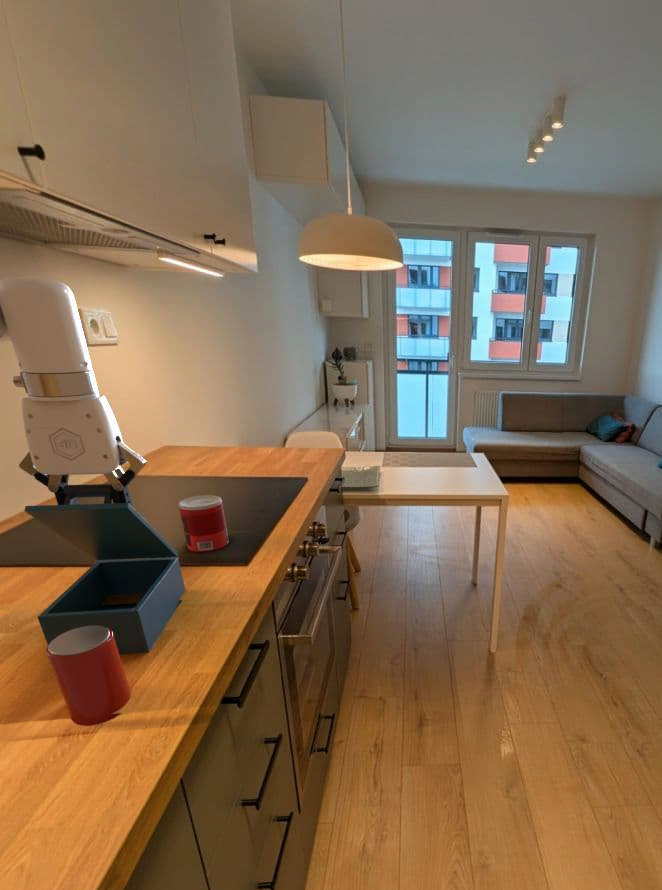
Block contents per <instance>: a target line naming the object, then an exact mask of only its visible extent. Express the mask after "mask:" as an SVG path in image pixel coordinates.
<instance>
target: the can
mask: <svg viewBox="0 0 662 890" xmlns="http://www.w3.org/2000/svg"><path fill="white" fill-rule="evenodd" d="M45 653H46V655H47V656H46V657H47V658H48V661H49V664H50V667H51V669H52V671H53V674H54V678H55V680H56V682H57V685H58V688H59V690H60V693H61V696H62V698H63V702H64V703H65V706H66V709H67V712H68V714H69V716H70V719H71V721H72V722H73V723H74V724H76V725H79V726H94V725H99V724H103V723H105V722H108V721H111V720H112V719H115V718H117V717H118V716H120V715H121V714H122V712H119V710H120V709H122V708H123V707H125V706H126V705H127V703H128V702H129V701H130V699H131V697H132V691H131V688H130V684H129V680H128V678H127V674H126V671H125V668H124V664H123V661H122V658H121V655H120V654H119V651H118V648H117V645H116V641H115V638H114V635H113V632H112V630H111V629H109V628H107V627H103V626H85V627H80V628H76V629H73V630H70V631H68V632H65V633H63V634H61V635H59V636H58V637H56V638H55V639H54V640H53V641H52V642H51V643H50V644H49V645H48V644H47V646H46V649H45ZM116 712H117V713H116ZM118 712H119V713H118Z"/></svg>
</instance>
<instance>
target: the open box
mask: <svg viewBox="0 0 662 890" xmlns="http://www.w3.org/2000/svg"><path fill="white" fill-rule="evenodd" d="M185 592H186V586H185V581H184V577H183V573H182V568H181V565H180V559H179V557H178V556H177V557H162V558H139V559H117V560H96V561H95V563H93V564H92V565H91V566H90V567H89V568H88V569H87V570H86V571H85V572H84V573H82V575H81V576H80V577H78V579H76V581H74V582H73V583H72V584H71V585H70V586H69V587H68V588H66V590H64V591H63V592H62V593H61V594H60V595H59V596H58V597H57V598H55V600H54V601H53V602H52V603H50V604H49V605H48V606H47V607H46V608H45V609H44V610H43V611H42V612H41V613H39V615H37V620H38V623H39V625H40V627H41V631H42V633H43V636H44V639H45V641H46V643H47V646H48V645H49V644H50V643H51V642H52V641H53V640H54V639H55V638H56V637H58V636H59V635H61V634H63V633H65V632H68V631H70V630H73V629H76V628H80V627H85V626H103V627H107V628H109V629H111V630H112V632H113V635H114V638H115V641H116V645H117V648H118V651H119V654H120V656H121V655H134V654H135V655H137V654H148V653H150V652H151V650H152V649H153V647H154V646H155V645H156V643H157V641H158V639H159V638H160V636H161V635H162V633H163V631H164V630H165V629H166V627H167V625H168V623H169V622H170V620H171V618H172V617H173V616H174V614H175V613H176V610H177V609H178V607H179V606H180V604H181V603H182V599H181V598H182V596H183V595H184V594H185ZM138 595H143V596H142V598H141V599H140V600H139V602H127V603H111V604H109V603H108V604H105V603H106V602H107V601H108V599H110V598H111V597H118V596H120V597H122V596H138Z"/></svg>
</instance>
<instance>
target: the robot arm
mask: <svg viewBox="0 0 662 890" xmlns="http://www.w3.org/2000/svg"><path fill="white" fill-rule="evenodd" d="M2 342H4V343H5V342H11V343H12V347H13V350H14V353H15V356H16V359H17V363H18V366H19V369H20V372H19V374H20V375H14V376H13V377H12V382H13V385H14V386H15V387H17V388H23V389H24V390H25V393H26V394H28V396H25V397H22V398H21V411H22V421H23V428H24V433H25V438H26V441H27V442H26V444H27V448H28V452H27V453H26V455H25V456H24V457H23V459H21V461H20V462H19V464H18V467H19V468H20V469H21V470H22V471H24V472H25V473H27V474H28V475H30V476H31V477H34V479H35V480H36V481H38V482H39V483H41V484H42V485H44V486H45V487H46V488H47V489H48V491H49V492H50V493H53V495H54V497H55V500H56V503H57V505H64V503H65V498H66V497H65V495H64V492H63V488H64V486H65V485H69V479H70V476H72V475H73V476H75V475H80V476H81V475H103V476H104V477H105V478H106V480H107V481H108V482H109V484H111V485H112V486H113V489H114V490H113V491H112V492H111V496H112V503H129V504H130V505H131V506H132V507H133V501H132V499H131V498H132V497H131V494H130V490H129V485H130V484H131V483H132V482H133V480H134V479H135V478H136V477H137V476H138V474H139V473H140V472H141V471H142V470H143V469H144V467H145V466H146V465H147V460H146V459H145V458H144V457H142V456H141V455H140V454H138V453H137V452H135V451H134V450H133V449H131V448H130V447H129V446H127V445H126V444H125V443H124V440H123V436H122V433H121V430H120V427H119V424H118V423H117V419H116V417H115V415H114V412H113V410H112V408H111V406H110V404H109V402H108V400H107V398H106V396H105V395H104V394H100V393H99V389H98V385H97V380H96V377H95V373H94V370H93V366H92V362H91V357H90V354H89V350H88V346H87V342H86V337H85V334H84V330H83V325H82V322H81V318H80V314H79V310H78V307H77V302H76V300H75V296H74V292H73V291H72V290H71V288H70V287H69V286H68V285H67V284H66V283H64V282H61V281H59V280H54V279H45V278H35V277H33V278H32V277H6V278H0V343H2ZM127 462H128V463H129V467H128V468H127V469H126V471H124V470H123V468H122V467H121V466H123V465H126V463H127ZM78 501H79V500H78V498H73V504H72V505H77V504H79V502H78Z"/></svg>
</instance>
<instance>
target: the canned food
mask: <svg viewBox="0 0 662 890" xmlns="http://www.w3.org/2000/svg"><path fill="white" fill-rule="evenodd" d="M178 508H179V514H180V519H181V523H182V527H183V532H184V537H185V543H186V545H187V549H188V550H190V551H192V552H201V553H202V552H211V551H216V550H219V549H222V548H223V547H225V546H227V545H228V544H229V542H230V541H229V534H228V529H227V523H226V516H225V512H224V504H223V500H222V497H220V496H218V495H214V494H213V495H212V494H204V495H203V494H201V495H194V496H189V497H187V498H184V499H181V500H180V501H179V502H178Z"/></svg>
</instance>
